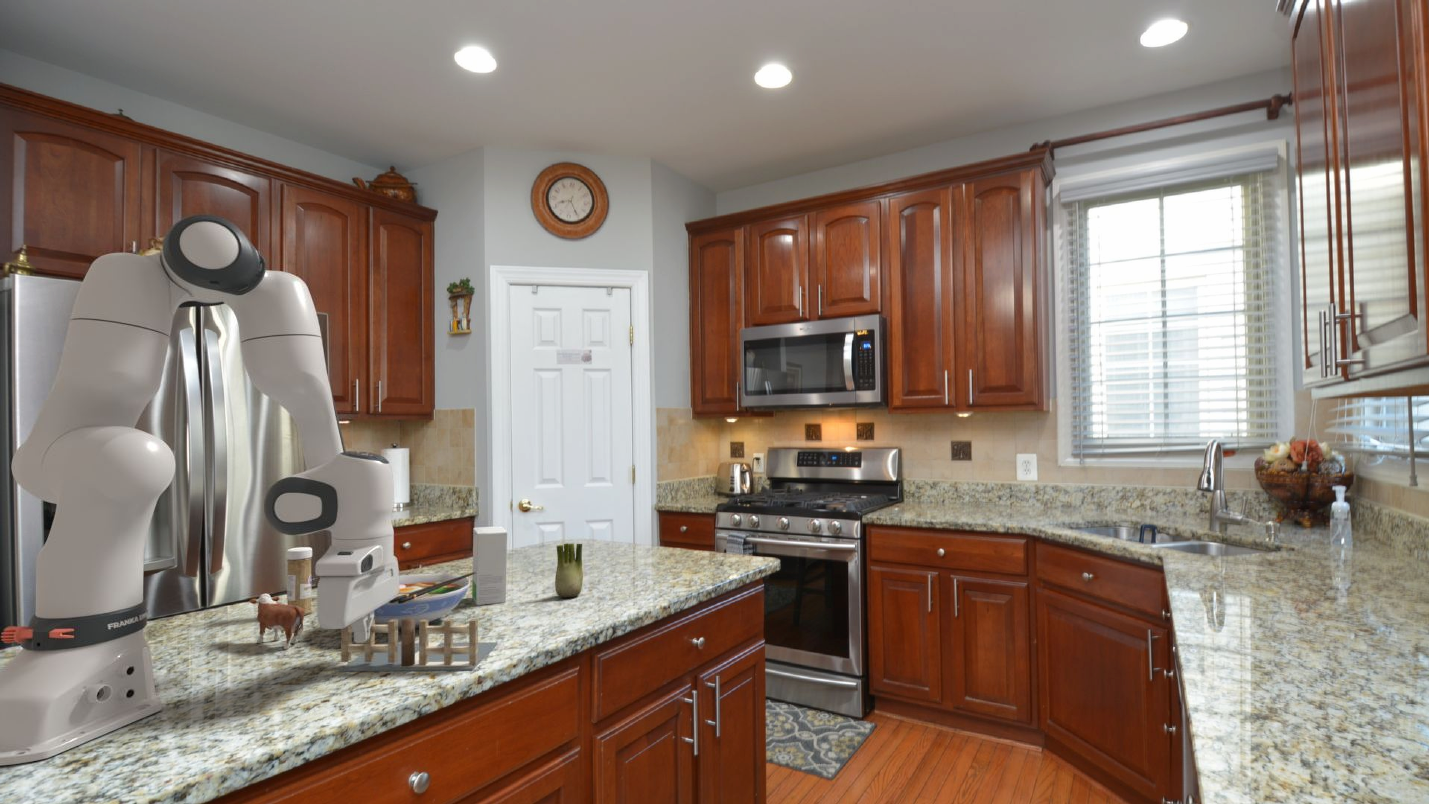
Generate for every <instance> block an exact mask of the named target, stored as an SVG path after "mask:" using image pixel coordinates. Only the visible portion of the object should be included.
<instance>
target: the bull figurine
mask: <svg viewBox="0 0 1429 804" xmlns="http://www.w3.org/2000/svg"><path fill="white" fill-rule="evenodd" d="M279 600H280V597H279V596H273V597H271V595H270V594H269V593H262V594H260V596H259V597H258V598H251V599H250V601H249V603H250V604H252V605H255V604H257V615H256V616H257V617H256V619H257V621H258V623H259V624H258V625H259V630H258V631H259V632H258V633H259V636H258V638H257V640H256V642H255V643H260V644H263V643H264V641H265V640H264V635H265V634H266V629H267V630H269V631H271V630H273V632H274V637H273V642H276V641H277V640H278V641H281V636H280V634H279V630H280V633H281V634H285V640H286V641H285V645H284V646H283V648H282V649H283V650H289V649H288V648H290V647H291V645H292V643H293V644H297V643H298V641H299V640H298V639H301V638H302V636H303V633H304V623H303V622H304V620H305V615H304V610H303V609H302V608H300V607H298V606H293V605H288V604H285V603H284V604H283V603H281V602H279ZM292 636H293V637H292ZM262 642H263V643H262Z"/></svg>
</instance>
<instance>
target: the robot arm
mask: <svg viewBox="0 0 1429 804" xmlns="http://www.w3.org/2000/svg"><path fill="white" fill-rule="evenodd" d="M267 267H268V265H267V261H266V260H265V258H264V257H263V256H262V254H261V253H260V252H259V251H258V250H257V248H256V247H255V246H254V245H253V243H252V242H251V240H250V239H249V238H248V236H246V234H245V233H244V232H243V231H242V230H241V229H240V228H239V227H238V226H237V225H235V224H234V223H233V222H231V221H229V220H228V219H226V218H223V217H221V216H218V215H213V214H207V213H203V214H202V213H201V214H192V215H189V216H185V217H183V218H181V219H180V220H177V221H176V222H175V223H174V224H173V225H171V227H170V228H169V229H168V230H167V231H166V233H165V234H164V237H163V241H162V248H161V250H160V251H159V252H156V253H154V254H153V253H152V254H149V255H145V254H144V255H141V254H137V253H131V252H112V253H107V254H104V255H101V256H99V257H98V258H96V259H95V260H93V262H92V263H91V265H90V267H89V269H88V270H87V273H86V274H85V277H84V278H83V280H82V282H81V285H80V287H79V290H78V291H77V296H76V298H75V300H74V304H73V306H72V311H71V314H70V318H69V323H68V327H67V333H66V336H65V340H64V345H63V349H62V354H61V359H60V363H59V367H58V371H57V372H56V376H55V378H54V382H53V384H52V387H51V389H50V390H49V391H50V392H49V393H48V395H47V397H46V400H45V402H44V403H43V405H42V408H41V410H40V412H39V414H38V416H37V418H36V420H35V422H34V425H33V427H32V429H31V431H30V433H29V435H28V436H27V439H25V441H24V442H23V443H22V444H21V445H20V446H19V447H18V448H17V449H16V450H15V453H14V454H13V457H12V461H11V472H12V476H13V479H14V480H15V482H16V483H17V485H19V486H20V487H21V488H22V489H23V490H25V491H26V493H28V494H30V495H32V496H33V497H35V498H37V499H39V500H41V501H43V502H47V503H50V504H56V507H55V512H54V513H55V514H54V518H53V521H52V524H51V528H50V531H49V534H48V537H47V540H46V541H45V543H44V545H43V546H42V547H41V548H40V550H39V551H38V553H37V555H36V561H35V562H36V564H35V565H36V566H35V567H36V569H35V571H36V572H35V613H34V614H33V615H32V616H31V617H30V620H29V623H28V624H27V626H24V625H23V626H15V625H11V626H7V627H5V628H4V629H3V632H1V636H0V638H1V641H3V643H4V644H10V643H18V644H19V643H20V647H21V650H20V651H19V652H18V653H17V654H16V655H15V656H14V657H13V658H12V659H11V660H9V662H8V663H7V664H5V666H3V668H2V669H1V670H0V766H8V765H9V766H10V765H16V764H22V763H30V762H34V761H40V760H44V759H49V758H51V757H53V756H56V755H58V754H62V753H63V752H65V751H67V750H70V749H73V748H75V747H77V746H80V745H82V744H84V743H87V742H89V741H91V740H93V739H96V738H99V737H101V736H103V735H106V734H108V733H110V732H113V731H115V730H118V729H120V728H123V727H124V726H127V725H130V724H131V723H134V722H137V721H138V720H141V719H143V718H144V719H145V718H146V717H148V716H151V715H153V714H155V713H158V712H160V711H161V710H162V709H163V705H162V704H163V703H162V700H161V699H159V698H158V696H157V693H156V686H155V677H154V667H153V659H152V651H151V649H150V647H149V644H148V643H147V641H146V640H147V639H146V637H145V632H144V629H145V627H146V626H147V625H148V615H149V610H148V607H147V605H148V604H147V600H145V599H144V568H145V567H144V563H145V561H144V559H145V548H146V547H145V546H146V541H147V536H148V533H149V529H150V525H151V521H152V519H153V515H154V511H155V508H156V506H157V503H158V500H159V498H160V497H161V495H162V494H163V493H164V492H165V491H166V489H167V488H168V487H169V486H170V484H171V482H172V481H173V479H174V476H175V474H176V473H175V472H176V458H175V455H174V452H173V451H172V449H171V448H170V446H169V445H168V444H167V443H166V442H165V441H163V440H162V439H161V438H159V437H157V436H156V435H153V434H151V433H149V432H146V431H144V430H140V429H138V428H136V425H137V423H138V421H139V419H140V417H141V415H142V413H143V412H144V410H145V408H146V407H147V406H148V403H150V401H151V400H152V399H154V397H155V396H157V394H158V392H159V390H160V388H161V385H162V380H163V379H162V378H163V373H164V370H165V364H166V358H167V354H168V350H169V344H170V337H171V333H172V327H173V322H174V320H175V319H174V318H175V314H176V312H177V310H178V309H182V308H184V309H185V308H197V307H198V308H200V307H202V308H205V307H216V306H221V305H225V304H226V305H227V307H229V309H231V311H232V312H233V314H234V315H235V318H236V321H237V325H238V329H239V330H238V331H239V337H240V338H239V339H240V346H241V354H242V355H241V356H242V361H243V363H244V368H245V371H246V373H247V375H248V377H249V380H250V382H251V384H252V385H253V386H254V387H255V388H256V389H257V390H258V391H259V392H260V393H262V394H263V395H265V396H267V397H268V398H270V399H272V400H273V401H275V403H278V404H279V406H281V407H282V408H284V409H285V411H286V412H287V413H288V414H289V415H290V416H291V418H292V420H293V421H294V423H295V425H296V428H297V432H298V437H299V442H300V446H301V450H302V455H303V458H304V463H305V471H303V472H298V473H295V474H291V475H289V476H286V477H284V478H282V479H280V480H278V481H276V482H275V483H273V484H272V486H271V487H270V488H269V489H268V491H267V492H266V494H265V497H264V501H263V502H264V503H263V511H264V516H265V518H266V520H267V522H268V524H269V525H270V526H271V528H273V529H274V530H275V531H277V532H279V533H280V534H282V535H286V536H298V537H299V536H307V535H310V534H315V533H319V532H321V531H329V532H331V545H330V546H329V547H328V549H327V551H326V552H325V553H324V554H323V555H322V556H321V558H320V559H318V560H317V561H316V563H315V576H318V577H320V579H319V581H318V583H317V586H316V587H317V589H316V613H317V622H318V624H319V626H320V628H321V629H323V630H339V629H340V630H341V629H343V628H345V627H347V626H349V625H350V624H351V626H352V629H353V631H354V632H353V642H354V643H355V644H365V642H366V641H367V640H368V639H369V638H370V628H371V625H372V621H373V618H374V610H376V609H377V608H379V607H381V606H382V605H384V604H386V603H388V602H389V601H391V600H393V599H394V598H396V597H397V595H398V592H399V576H400V572H399V562H398V558H397V557H396V556H395V555H394V554H395V553H394V549H395V547H394V546H395V545H394V544H395V541H394V540H395V539H394V537H395V536H394V534H395V531H394V527H393V524H392V516H393V515H392V514H393V512H394V508H395V489H394V488H395V487H394V475H393V470H392V466H391V463H390V461H389V460H388V459H387V458H386V457H384V456H382V455H379V454H376V453H372V452H365V451H353V450H352V451H351V450H348V451H347V450H346V446H345V443H344V442H345V441H344V438H343V434H342V427H341V424H340V419H339V415H338V411H337V408H336V407H337V406H336V403H335V398H334V396H333V393H332V390H331V383H330V381H329V377H328V371H327V365H326V359H325V352H324V346H323V338H322V332H321V328H320V327H321V326H320V323H319V318H318V313H317V310H316V307H315V305H314V301H313V299H312V295H311V292H310V290H309V288H308V285H307V284H306V282H305V281H303V279H302V278H300V277H299V276H296V275H295V274H292V273H290V272H287V271H281V270H269V269H268V270H267Z"/></svg>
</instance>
